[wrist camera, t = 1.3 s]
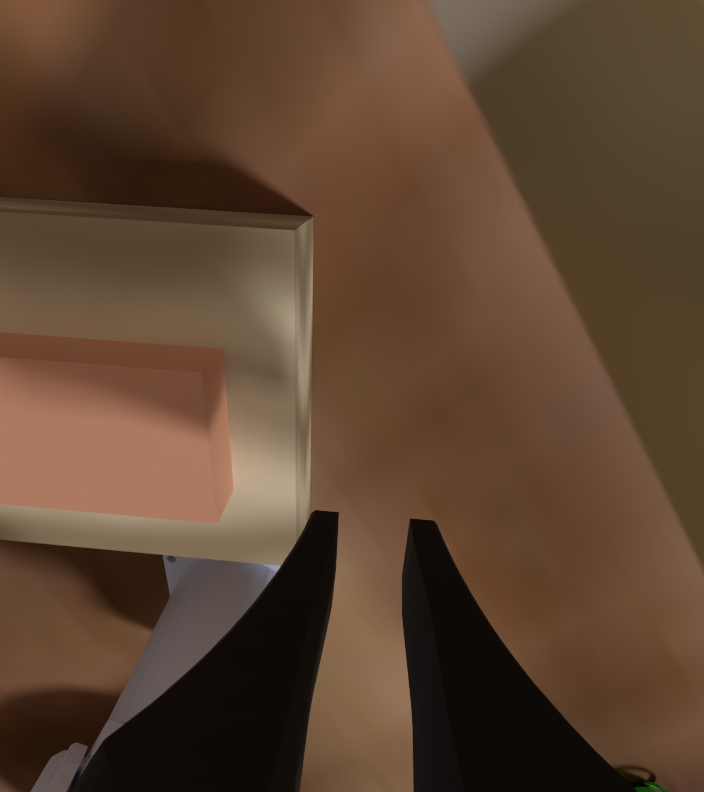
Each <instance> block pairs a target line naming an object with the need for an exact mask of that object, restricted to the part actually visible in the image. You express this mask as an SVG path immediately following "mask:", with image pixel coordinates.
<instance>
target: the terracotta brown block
mask: <svg viewBox="0 0 704 792" xmlns="http://www.w3.org/2000/svg"><path fill="white" fill-rule="evenodd" d="M233 490H234V486H233V473H232V461H231V448H230V436H229V423H228V411H227V398H226V386H225V373H224V361H223V349H219V348H205V347H192V346H179V345H165V344H152V343H138V342H125V341H111V340H98V339H85V338H71V337H58V336H44V335H31V334H17V333H4V332H0V504H3V505H14V506H26V507H37V508H48V509H59V510H70V511H81V512H92V513H103V514H115V515H126V516H137V517H148V518H159V519H170V520H181V521H193V522H204V523H215V524H217V523H218V521H219V519H220V517H221V515H222V513H223V511H224V509H225V507H226V504H227V502H228V500H229V498H230V496H231V494H232V492H233Z"/></svg>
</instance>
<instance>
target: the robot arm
mask: <svg viewBox="0 0 704 792" xmlns="http://www.w3.org/2000/svg"><path fill="white" fill-rule="evenodd" d="M338 516H339V512H329V511H318V510H315V511H314V512H312V513H311V515H310V517H309V520H308V522H307V524H306V526H305V528H304V530H303V532H302V533H301V535H300V537H299V539H298V540H297V542H296V544H295V545H294V547H293V549H292V550H291V552H290V553H289V555H288V556H287V558H286V559H285V561H284V562H283V564H282V565H281V566H278V565H267V564H257V563H246V562H235V561H224V560H214V559H203V558H192V557H181V556H174V557H173V556H171V555H163V560H164V566H165V572H166V577H167V583H168V588H169V594H170V598H169V600H168V602H167V604H166V606H165V608H164V610H163V612H162V614H161V616H160V618H159V620H158V622H157V624H156V626H155V628H154V629H153V631H152V633H151V635H150V637H149V639H148V641H147V643H146V645H145V647H144V649H143V651H142V653H141V655H140V657H139V659H138V661H137V663H136V665H135V667H134V669H133V671H132V673H131V675H130V677H129V679H128V681H127V683H126V685H125V687H124V689H123V691H122V693H121V695H120V697H119V699H118V701H117V703H116V705H115V707H114V709H113V711H112V713H111V715H110V717H109V719H108V721H107V722H106V724H105V725H104V727H103V729H102V731H101V732H100V734H99V736H98V738H97V739H96V741H95V743H94V745H93V746H92V748H91V750H90V752H89V753H88V755H87V757H85V756H84V755H85V753H86V751H87V748H88V746H86V745H83V744H80V743H73V744H72V745H71V746H70V747H69V749H68V750H63V751H61V752H59V753H57V754H56V755H54V756H52V757H51V758H50V760H49V761H48V763H47V765H46V766H45V768H44V770H43V771H42V773H41V775H40V776H39V778H38V780H37V781H36V783H35V785H34V787H33V788H32V790H31V792H299V791H300V783H301V775H302V767H303V759H304V751H305V744H306V736H307V729H308V721H309V714H310V708H311V702H312V697H313V692H314V687H315V682H316V678H317V673H318V669H319V664H320V659H321V655H322V650H323V645H324V641H325V636H326V631H327V627H328V622H329V617H330V612H331V608H332V599H333V591H334V582H335V573H336V557H337V536H338ZM402 618H403V629H404V639H405V649H406V659H407V668H408V678H409V688H410V698H411V709H412V724H413V775H414V792H638V791H637V790H636V789H635V788H634V787H632V786H631V785H630V784H629V783H628V782H627V781H626V780H625V779H624V778H623V777H622V776H621V775H620V774H619V773H618V772H617V771H616V770H615V769H614V768H612V767H611V766H610V765H609V764H608V763H607V762H606V761H605V760H604V759H603V758H602V757H601V756H600V755H599V754H598V753H597V752H596V751H595V750H594V749H593V748H592V747H591V746H590V745H589V744H588V743H587V742H586V741H585V740H584V738H583V737H582V736H581V735H580V734H579V733H578V732H577V731H576V730H575V729H574V728H573V727H572V726H571V725H570V724H569V723H568V722H567V720H566V719H565V718H564V717H563V716H562V715H561V713H560V712H559V711H558V710H557V709H556V708H555V707H554V705H553V704H552V703H551V702H550V701H549V700H548V699H547V697H546V696H545V695H544V694H543V693H542V692H541V690H540V689H539V688H538V687H537V686H536V685H535V684H534V682H533V681H532V680H531V679H530V677H529V676H528V675H527V674H526V672H525V671H524V670H523V668H522V667H521V666H520V665H519V663H518V662H517V661H516V660H515V658H514V657H513V655H512V654H511V653H510V651H509V650H508V649H507V647H506V646H505V645H504V643H503V642H502V640H501V639H500V638H499V636H498V635H497V633H496V632H495V630H494V629H493V627H492V626H491V624H490V623H489V621H488V620H487V618H486V617H485V615H484V613H483V612H482V610H481V609H480V607H479V606H478V604H477V602H476V601H475V599H474V597H473V596H472V594H471V592H470V590H469V589H468V587H467V585H466V583H465V582H464V580H463V578H462V576H461V574H460V573H459V571H458V569H457V567H456V565H455V563H454V561H453V559H452V557H451V555H450V553H449V551H448V549H447V547H446V544H445V542H444V540H443V538H442V535H441V533H440V530H439V528H438V525H437V524H436V523H435V522H434V521H432V520H420V519H410V523H409V530H408V537H407V544H406V551H405V559H404V566H403V573H402Z"/></svg>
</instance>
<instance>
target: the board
mask: <svg viewBox="0 0 704 792" xmlns="http://www.w3.org/2000/svg"><path fill="white" fill-rule="evenodd" d="M313 222H314V216H299V215H283V214H267V213H251V212H235V211H219V210H203V209H187V208H171V207H155V206H139V205H122V204H106V203H90V202H74V201H58V200H42V199H26V198H10V197H0V332H4V333H17V334H31V335H44V336H58V337H71V338H85V339H98V340H111V341H125V342H138V343H152V344H165V345H179V346H192V347H205V348H219V349H223V361H224V373H225V386H226V398H227V411H228V423H229V436H230V448H231V461H232V473H233V486H234V490H233V492H232V494H231V496H230V498H229V500H228V502H227V504H226V507H225V509H224V511H223V513H222V515H221V517H220V519H219V521H218V523H217V524H215V523H204V522H193V521H181V520H170V519H159V518H148V517H137V516H126V515H115V514H103V513H92V512H81V511H70V510H59V509H48V508H37V507H26V506H14V505H3V504H0V540H9V541H20V542H31V543H41V544H52V545H63V546H74V547H84V548H95V549H106V550H117V551H127V552H138V553H149V554H160V555H171V556H181V557H192V558H203V559H214V560H224V561H235V562H246V563H257V564H267V565H278V566H281V565H282V564H283V562H284V561H285V559H286V558H287V556H288V555H289V553H290V552H291V550H292V549H293V547H294V545H295V544H296V542H297V540H298V539H299V537H300V535H301V533H302V532H303V530H304V528H305V526H306V522H307V517H308V513H309V508H310V459H311V380H312V301H313Z"/></svg>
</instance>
